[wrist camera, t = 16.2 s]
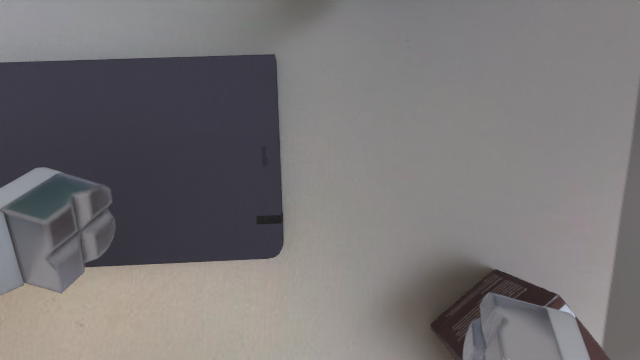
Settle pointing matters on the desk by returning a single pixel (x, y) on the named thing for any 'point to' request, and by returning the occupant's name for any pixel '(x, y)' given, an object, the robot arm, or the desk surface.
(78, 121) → the notebook
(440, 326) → the box
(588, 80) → the desk surface
